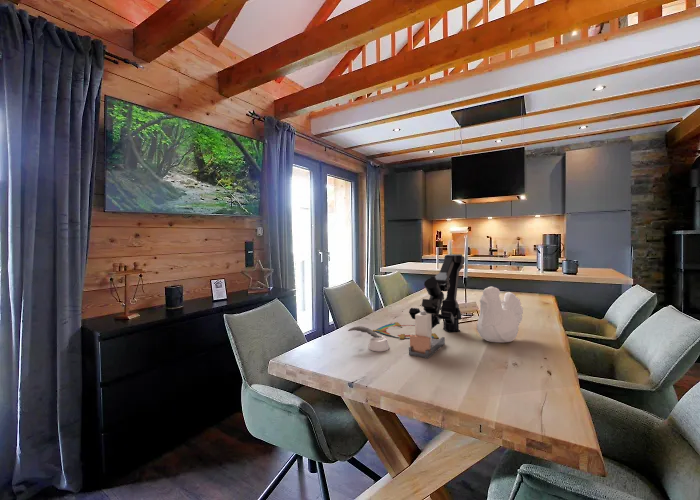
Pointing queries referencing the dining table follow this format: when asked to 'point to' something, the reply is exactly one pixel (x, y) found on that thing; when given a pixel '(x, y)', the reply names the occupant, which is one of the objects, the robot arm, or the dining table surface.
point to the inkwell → (374, 339)
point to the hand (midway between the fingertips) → (426, 332)
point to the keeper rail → (433, 348)
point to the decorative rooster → (499, 316)
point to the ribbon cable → (383, 331)
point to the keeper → (423, 325)
